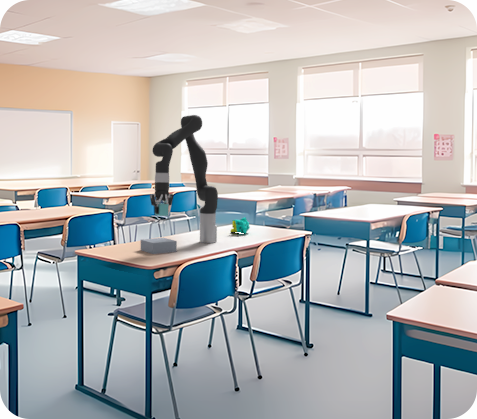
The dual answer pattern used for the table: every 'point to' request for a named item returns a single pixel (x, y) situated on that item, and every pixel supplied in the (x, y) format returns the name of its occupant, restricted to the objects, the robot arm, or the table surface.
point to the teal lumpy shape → (240, 225)
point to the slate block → (158, 245)
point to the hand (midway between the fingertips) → (161, 213)
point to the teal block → (163, 210)
